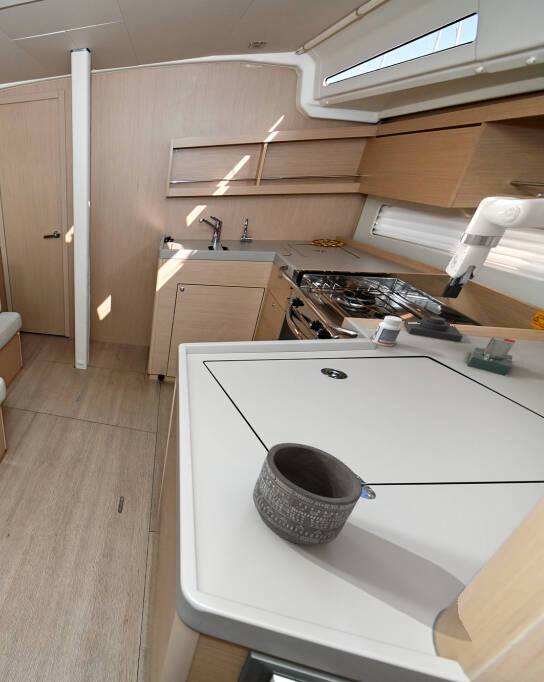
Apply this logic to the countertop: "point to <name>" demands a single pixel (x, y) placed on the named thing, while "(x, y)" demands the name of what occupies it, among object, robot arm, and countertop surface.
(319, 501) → the planter
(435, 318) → the button
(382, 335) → the pill bottle
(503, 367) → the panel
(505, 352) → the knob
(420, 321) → the housing
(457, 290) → the robot arm
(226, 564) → the countertop surface
